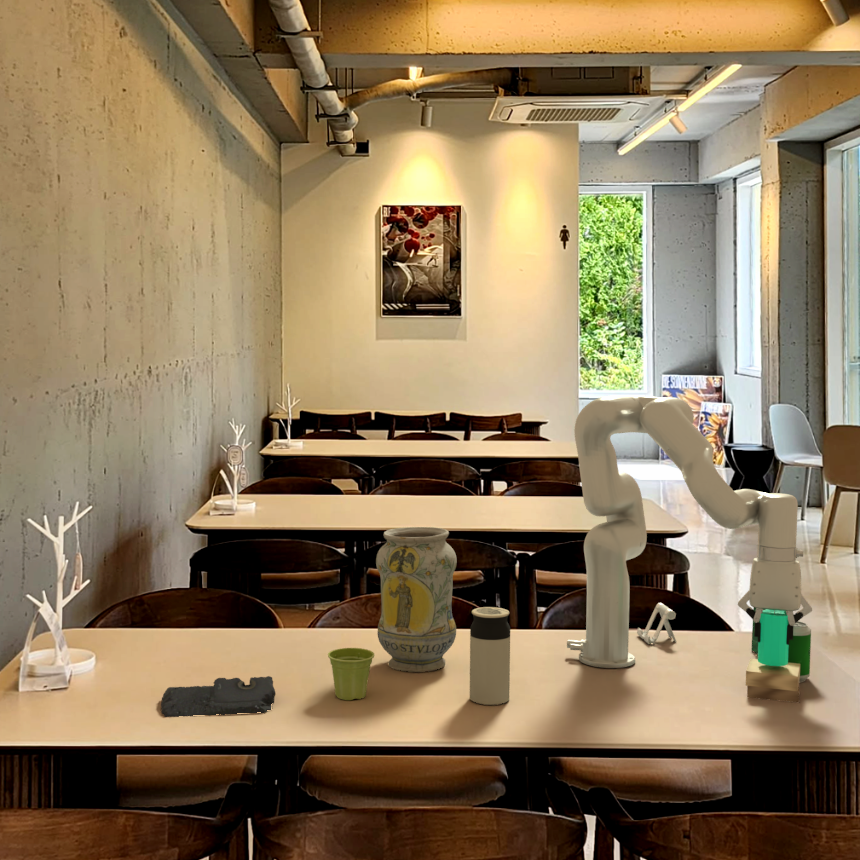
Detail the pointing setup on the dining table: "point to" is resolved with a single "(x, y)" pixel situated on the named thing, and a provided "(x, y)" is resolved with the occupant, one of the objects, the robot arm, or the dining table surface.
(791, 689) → the oak block
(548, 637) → the dining table surface
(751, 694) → the tan flat block
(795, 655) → the soda can
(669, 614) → the portable electronic device stand
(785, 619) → the candle
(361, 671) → the plant pot
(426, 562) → the vase
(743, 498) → the robot arm
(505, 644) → the travel mug
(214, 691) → the dark slate chunk
